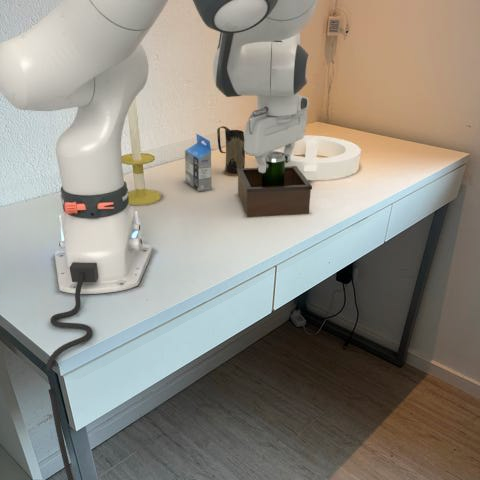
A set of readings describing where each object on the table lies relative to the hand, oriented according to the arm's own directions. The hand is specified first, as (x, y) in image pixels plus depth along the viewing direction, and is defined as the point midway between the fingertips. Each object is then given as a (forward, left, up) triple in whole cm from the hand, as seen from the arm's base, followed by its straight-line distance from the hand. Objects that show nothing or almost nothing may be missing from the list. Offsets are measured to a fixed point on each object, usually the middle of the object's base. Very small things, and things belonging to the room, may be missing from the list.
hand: (274, 166), depth 122 cm
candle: (+9, +32, -9) cm, 34 cm away
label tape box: (+16, +17, -9) cm, 25 cm away
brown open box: (0, 0, -9) cm, 9 cm away
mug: (+26, +7, -9) cm, 28 cm away
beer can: (0, 0, -9) cm, 9 cm away
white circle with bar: (+30, -17, -9) cm, 36 cm away
